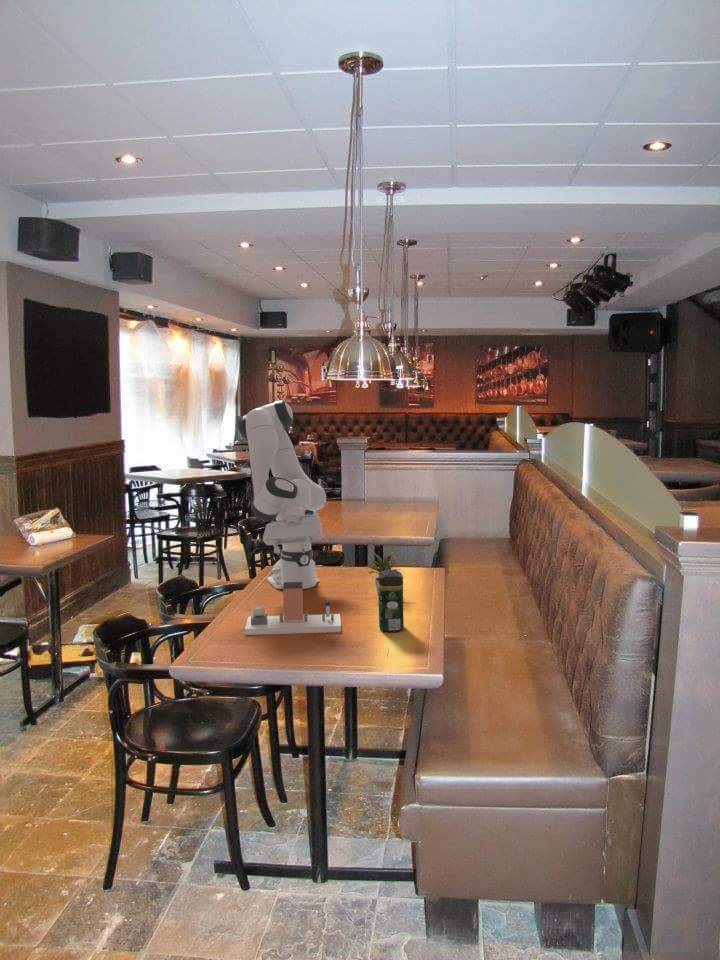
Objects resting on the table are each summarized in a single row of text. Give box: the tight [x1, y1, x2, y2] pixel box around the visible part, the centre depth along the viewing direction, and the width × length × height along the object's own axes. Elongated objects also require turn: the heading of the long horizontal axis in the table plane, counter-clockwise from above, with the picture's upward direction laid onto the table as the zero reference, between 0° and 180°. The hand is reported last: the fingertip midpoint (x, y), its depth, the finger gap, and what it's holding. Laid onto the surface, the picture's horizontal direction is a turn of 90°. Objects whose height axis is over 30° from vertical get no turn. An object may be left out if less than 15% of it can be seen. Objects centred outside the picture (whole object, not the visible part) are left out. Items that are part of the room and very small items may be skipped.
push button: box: [252, 606, 266, 616], centre depth 233 cm, size 4×4×2 cm
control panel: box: [244, 612, 342, 636], centre depth 234 cm, size 12×30×4 cm, turn 93°
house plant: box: [364, 551, 402, 595], centre depth 269 cm, size 14×14×16 cm
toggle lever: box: [324, 600, 331, 617], centre depth 235 cm, size 2×2×5 cm
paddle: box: [282, 582, 304, 620], centre depth 233 cm, size 2×6×12 cm, turn 94°
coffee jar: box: [377, 568, 405, 633], centre depth 231 cm, size 10×8×19 cm
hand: (290, 551), depth 241 cm, fingers open, 8 cm apart
